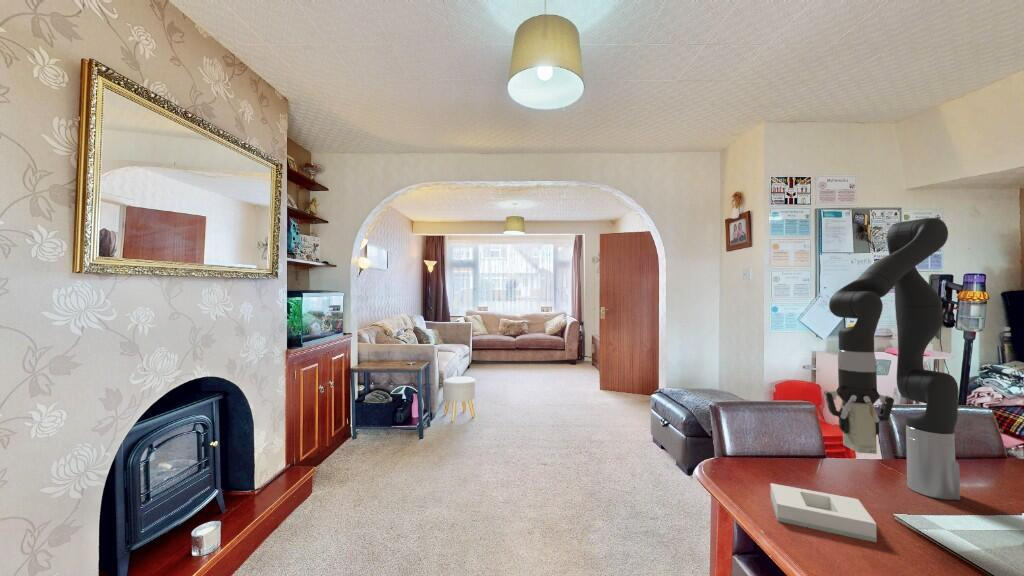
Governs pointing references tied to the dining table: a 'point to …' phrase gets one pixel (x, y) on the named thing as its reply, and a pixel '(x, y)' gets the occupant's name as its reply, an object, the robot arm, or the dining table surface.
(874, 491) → the dining table surface
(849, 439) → the skincare box
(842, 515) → the white slotted base
